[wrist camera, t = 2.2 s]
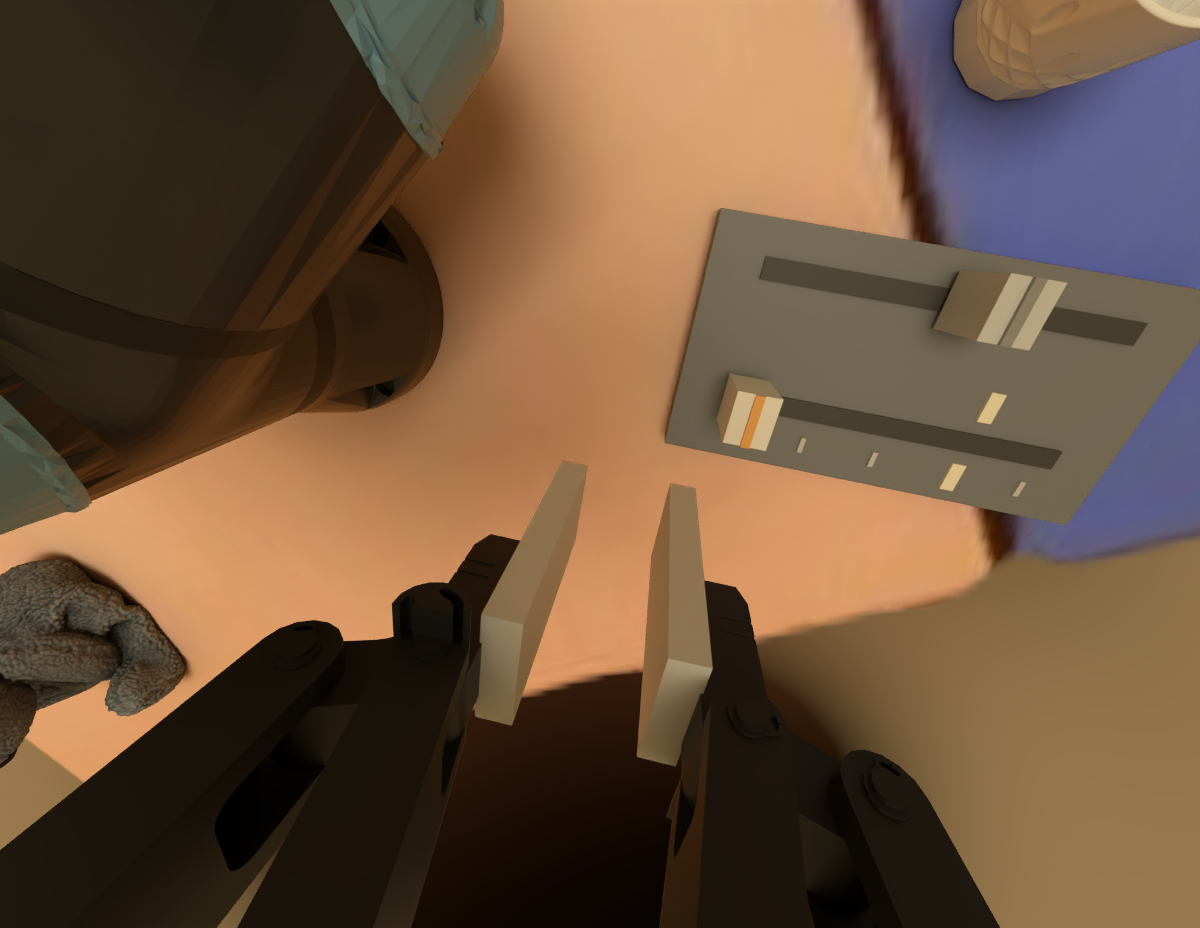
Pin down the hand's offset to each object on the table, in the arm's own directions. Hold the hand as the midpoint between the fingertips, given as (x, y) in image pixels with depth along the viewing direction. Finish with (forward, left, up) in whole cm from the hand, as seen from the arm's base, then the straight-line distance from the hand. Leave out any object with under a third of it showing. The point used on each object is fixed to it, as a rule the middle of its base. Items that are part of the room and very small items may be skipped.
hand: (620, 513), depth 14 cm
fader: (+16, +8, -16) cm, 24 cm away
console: (+15, +3, -19) cm, 24 cm away
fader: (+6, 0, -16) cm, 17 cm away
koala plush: (-54, -39, -19) cm, 69 cm away
